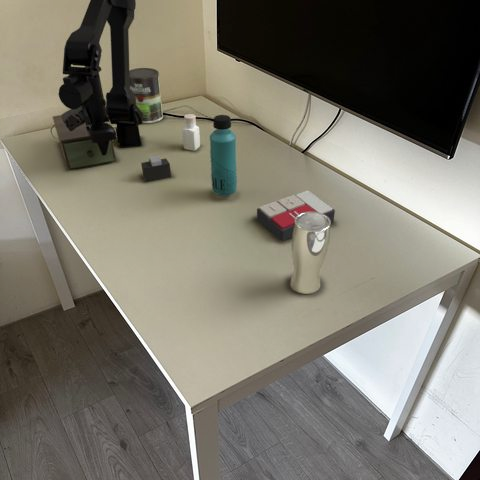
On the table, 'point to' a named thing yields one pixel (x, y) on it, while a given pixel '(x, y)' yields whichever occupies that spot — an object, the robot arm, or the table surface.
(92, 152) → the drawer
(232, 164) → the beverage bottle
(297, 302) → the table surface
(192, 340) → the table surface
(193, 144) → the salt shaker
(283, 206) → the grey and red box
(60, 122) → the cabinet
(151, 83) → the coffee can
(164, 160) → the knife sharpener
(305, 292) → the beer glass
